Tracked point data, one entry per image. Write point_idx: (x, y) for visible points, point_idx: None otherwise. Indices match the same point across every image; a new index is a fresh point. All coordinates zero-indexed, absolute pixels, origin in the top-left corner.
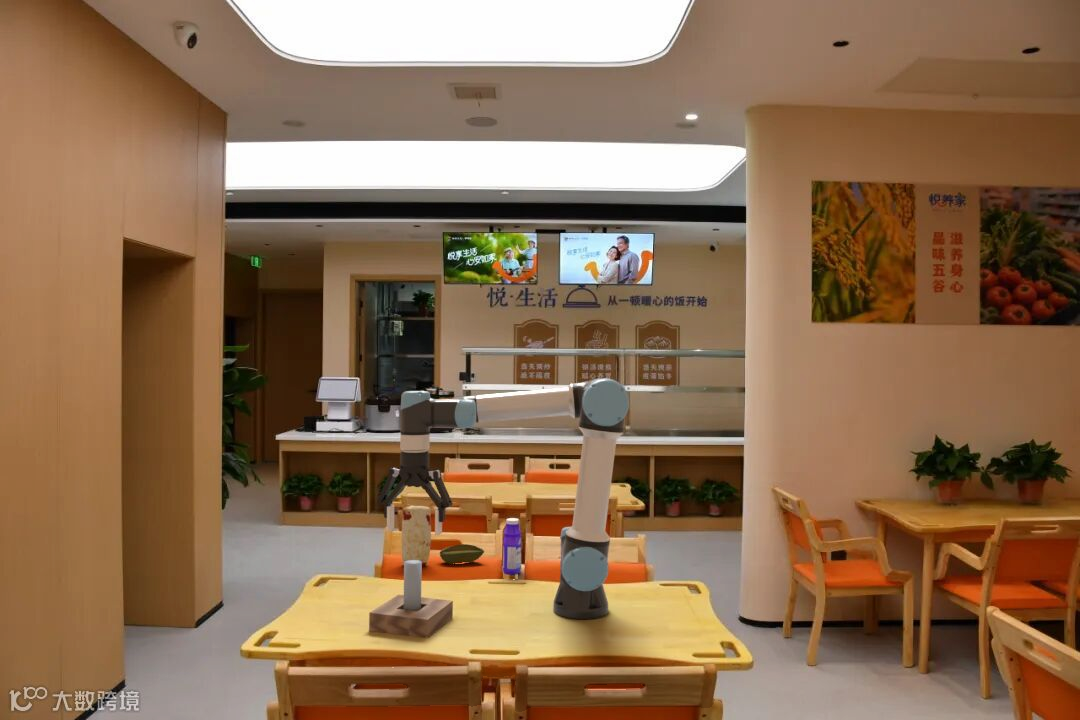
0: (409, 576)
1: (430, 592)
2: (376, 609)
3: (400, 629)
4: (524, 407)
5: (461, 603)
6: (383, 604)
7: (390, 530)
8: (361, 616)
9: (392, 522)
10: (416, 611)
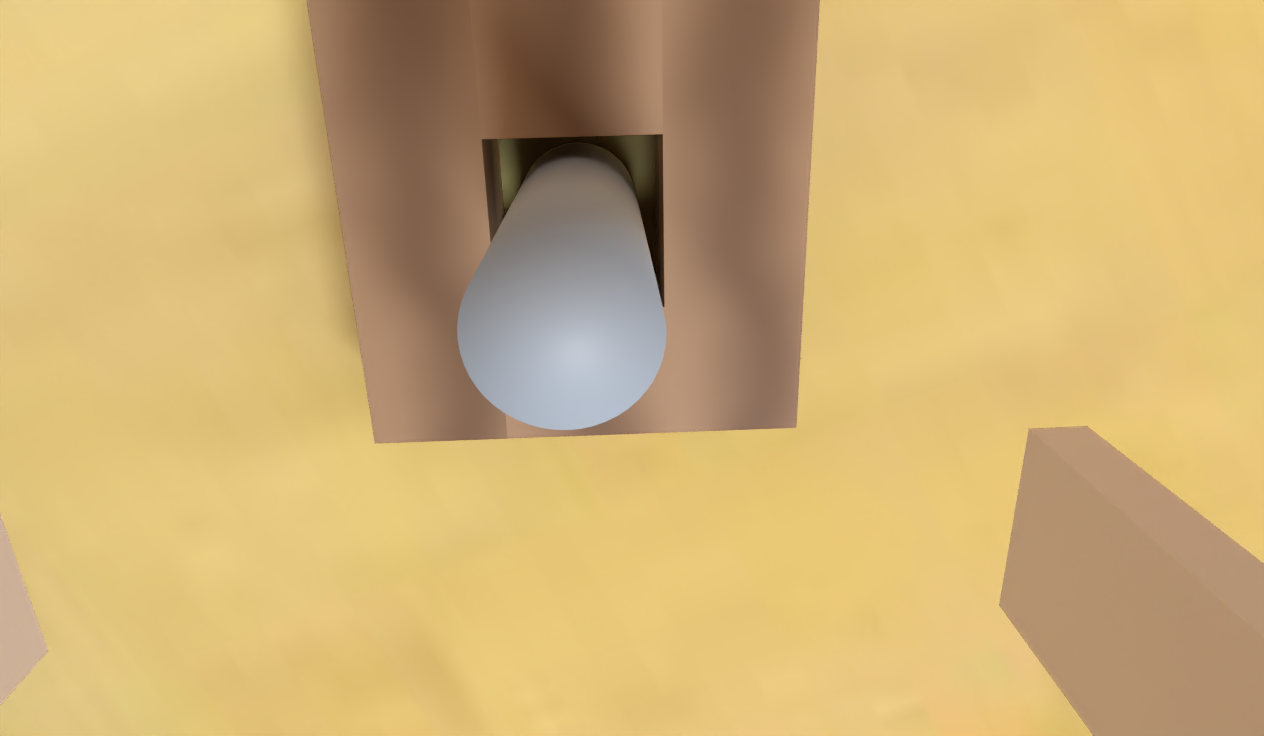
0: (555, 205)
1: (737, 718)
2: (801, 60)
3: None
4: None
5: (483, 624)
6: (803, 193)
7: (1030, 480)
8: (957, 217)
9: (1097, 648)
10: (489, 132)
